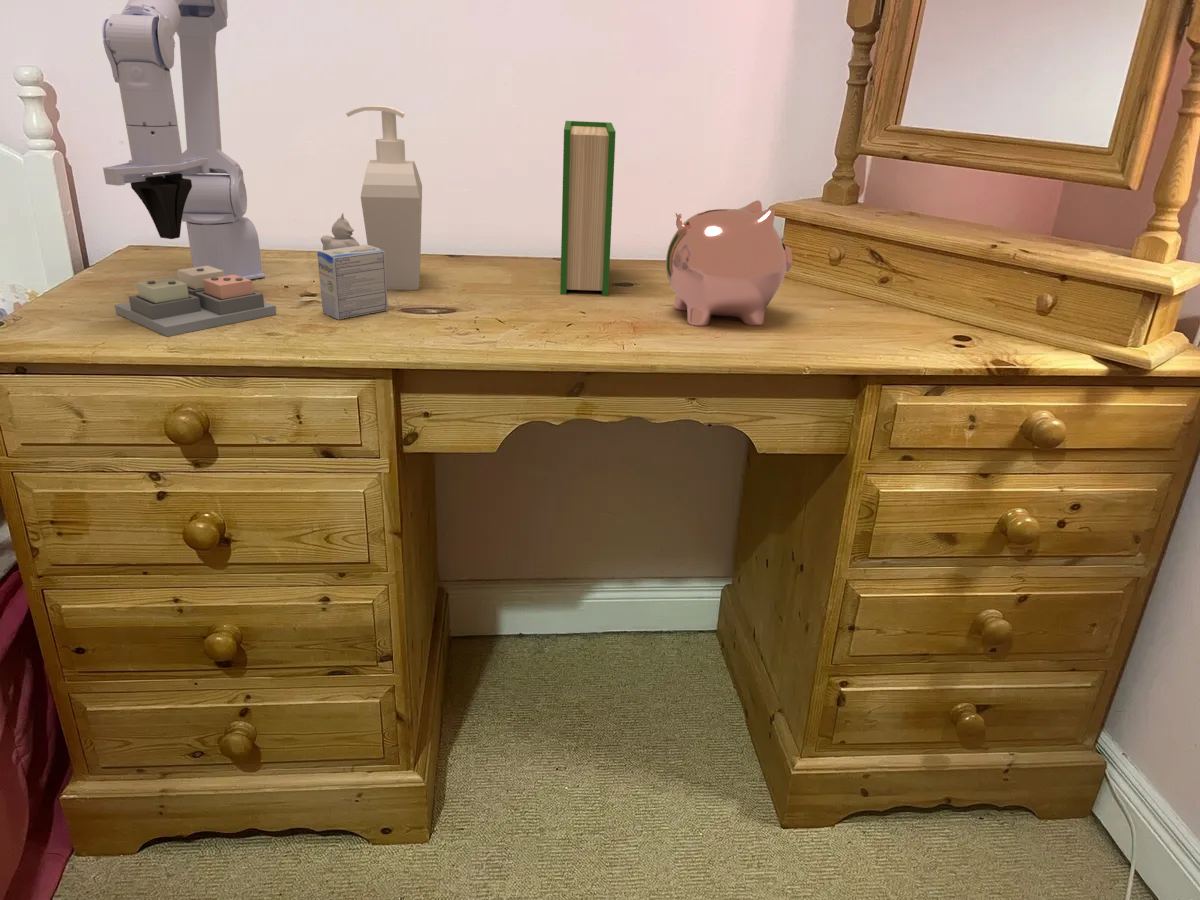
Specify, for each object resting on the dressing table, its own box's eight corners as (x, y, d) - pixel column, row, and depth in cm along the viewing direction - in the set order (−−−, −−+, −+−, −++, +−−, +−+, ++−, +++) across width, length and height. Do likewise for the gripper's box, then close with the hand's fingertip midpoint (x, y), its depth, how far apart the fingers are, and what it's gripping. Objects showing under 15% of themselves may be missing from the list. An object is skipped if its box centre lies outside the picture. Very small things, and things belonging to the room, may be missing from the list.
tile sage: (172, 291, 117) (170, 276, 116) (188, 297, 114) (186, 282, 114) (138, 296, 114) (136, 281, 113) (155, 303, 111) (152, 287, 111)
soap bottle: (362, 273, 143) (350, 102, 132) (425, 274, 144) (418, 105, 133) (355, 293, 131) (341, 107, 121) (423, 293, 133) (416, 110, 122)
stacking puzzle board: (222, 294, 128) (220, 274, 126) (276, 314, 120) (274, 292, 118) (116, 313, 117) (111, 291, 116) (167, 336, 109) (163, 312, 108)
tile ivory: (209, 278, 124) (207, 264, 123) (225, 284, 121) (223, 269, 121) (178, 283, 121) (176, 268, 120) (194, 289, 118) (192, 274, 117)
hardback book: (608, 296, 136) (615, 131, 126) (560, 294, 136) (563, 129, 126) (605, 270, 152) (611, 122, 142) (562, 268, 152) (565, 120, 142)
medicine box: (372, 304, 126) (368, 243, 123) (389, 311, 123) (385, 249, 120) (321, 313, 121) (315, 250, 117) (338, 320, 118) (332, 256, 115)
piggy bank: (801, 330, 123) (817, 213, 117) (676, 331, 120) (685, 211, 114) (764, 301, 137) (777, 196, 130) (652, 302, 134) (659, 193, 127)
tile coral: (235, 287, 120) (233, 272, 119) (253, 293, 117) (251, 278, 117) (204, 292, 117) (202, 277, 116) (221, 299, 114) (219, 284, 113)
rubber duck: (354, 263, 149) (351, 215, 146) (316, 261, 149) (312, 213, 146) (365, 257, 154) (362, 210, 151) (328, 255, 154) (324, 208, 151)
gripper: (172, 119, 114) (188, 225, 120) (75, 125, 102) (98, 243, 108) (215, 123, 112) (230, 231, 118) (121, 129, 100) (142, 250, 105)
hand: (170, 237), depth 113 cm, fingers closed
